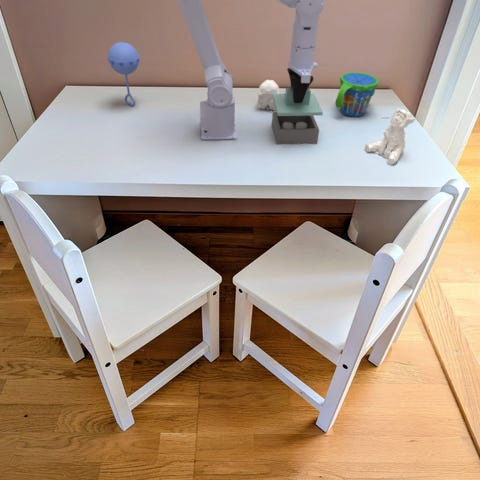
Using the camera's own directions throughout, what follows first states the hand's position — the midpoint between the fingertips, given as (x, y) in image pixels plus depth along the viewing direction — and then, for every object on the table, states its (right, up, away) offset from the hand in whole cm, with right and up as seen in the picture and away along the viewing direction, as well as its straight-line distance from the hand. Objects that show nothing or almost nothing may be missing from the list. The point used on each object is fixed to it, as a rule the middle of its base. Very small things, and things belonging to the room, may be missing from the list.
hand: (296, 100), depth 105 cm
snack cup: (+19, +2, +18) cm, 26 cm away
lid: (0, -2, +2) cm, 2 cm away
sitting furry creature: (+24, -14, 0) cm, 27 cm away
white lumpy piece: (-6, +6, +21) cm, 22 cm away
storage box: (0, -7, +7) cm, 10 cm away
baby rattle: (-48, +5, +19) cm, 52 cm away
